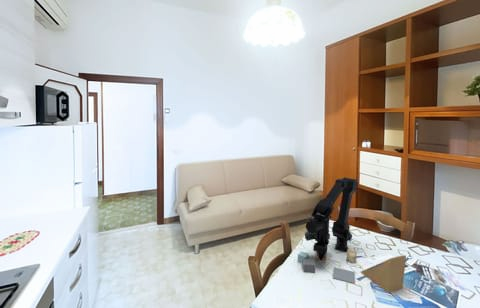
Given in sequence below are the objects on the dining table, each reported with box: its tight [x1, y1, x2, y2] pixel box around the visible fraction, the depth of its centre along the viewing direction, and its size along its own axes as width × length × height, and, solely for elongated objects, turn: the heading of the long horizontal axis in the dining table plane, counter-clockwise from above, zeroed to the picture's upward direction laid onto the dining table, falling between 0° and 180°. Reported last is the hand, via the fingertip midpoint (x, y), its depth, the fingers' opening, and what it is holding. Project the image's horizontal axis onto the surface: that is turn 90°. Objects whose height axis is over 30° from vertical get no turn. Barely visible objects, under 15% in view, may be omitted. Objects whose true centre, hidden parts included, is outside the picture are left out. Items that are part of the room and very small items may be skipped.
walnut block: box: [315, 251, 327, 263], centre depth 127 cm, size 4×4×5 cm
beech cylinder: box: [346, 248, 357, 264], centre depth 126 cm, size 4×4×5 cm
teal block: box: [297, 250, 310, 264], centre depth 125 cm, size 4×4×4 cm
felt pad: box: [332, 267, 356, 285], centre depth 113 cm, size 9×9×1 cm
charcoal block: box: [301, 258, 316, 274], centre depth 118 cm, size 5×5×4 cm
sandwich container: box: [360, 255, 407, 293], centre depth 110 cm, size 9×15×15 cm, turn 19°
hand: (321, 257), depth 127 cm, fingers closed on walnut block, 4 cm apart
